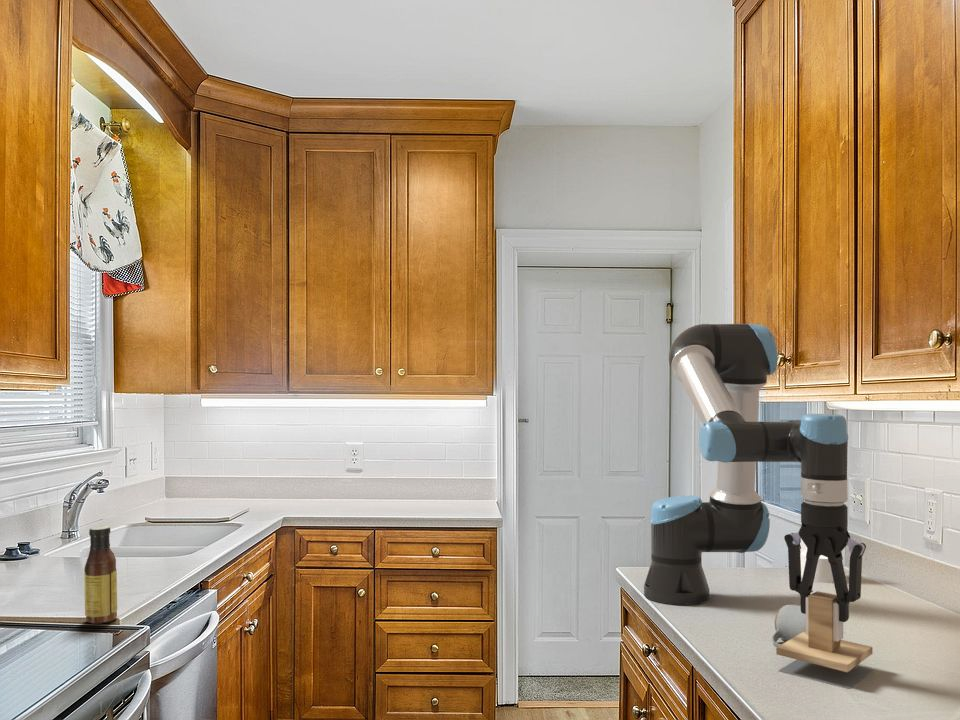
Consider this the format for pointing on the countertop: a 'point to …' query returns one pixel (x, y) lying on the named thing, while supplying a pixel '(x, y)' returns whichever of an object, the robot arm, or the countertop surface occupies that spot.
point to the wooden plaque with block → (823, 639)
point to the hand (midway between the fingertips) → (824, 635)
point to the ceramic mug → (788, 623)
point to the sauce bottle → (100, 578)
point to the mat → (826, 673)
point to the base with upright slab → (822, 568)
